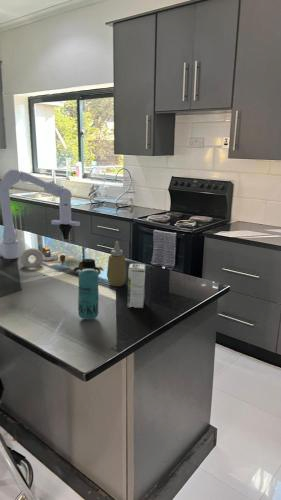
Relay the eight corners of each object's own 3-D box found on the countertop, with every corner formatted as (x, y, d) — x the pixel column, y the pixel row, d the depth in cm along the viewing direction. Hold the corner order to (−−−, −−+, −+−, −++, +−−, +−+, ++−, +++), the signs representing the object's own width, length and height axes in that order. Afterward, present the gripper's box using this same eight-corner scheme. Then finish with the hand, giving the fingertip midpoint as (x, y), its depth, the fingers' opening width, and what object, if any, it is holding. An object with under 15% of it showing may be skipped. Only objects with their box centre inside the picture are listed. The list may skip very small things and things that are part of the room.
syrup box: (128, 301, 136) (128, 263, 133) (144, 302, 136) (145, 263, 133) (127, 307, 131) (127, 267, 127) (143, 308, 131) (145, 268, 127)
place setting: (72, 279, 160) (72, 266, 159) (57, 267, 177) (57, 255, 176) (109, 274, 169) (109, 261, 167) (92, 263, 185) (92, 251, 184)
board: (28, 259, 186) (28, 249, 185) (58, 254, 198) (57, 244, 197) (49, 268, 172) (49, 257, 171) (80, 262, 184) (80, 251, 183)
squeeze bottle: (129, 283, 156) (130, 241, 152) (120, 289, 149) (121, 245, 145) (112, 280, 159) (113, 238, 155) (103, 285, 152) (103, 242, 148)
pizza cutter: (58, 260, 180) (58, 253, 179) (37, 261, 177) (36, 254, 177) (57, 252, 194) (57, 246, 193) (37, 253, 192) (37, 246, 191)
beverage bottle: (79, 315, 123) (78, 256, 119) (99, 315, 124) (99, 256, 119) (77, 324, 117) (76, 262, 112) (98, 323, 118) (98, 262, 113)
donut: (43, 267, 174) (42, 246, 172) (44, 269, 171) (43, 248, 169) (20, 269, 171) (19, 248, 168) (21, 271, 168) (20, 249, 165)
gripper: (48, 212, 185) (49, 239, 189) (75, 214, 183) (76, 241, 186) (54, 210, 192) (55, 236, 195) (81, 212, 189) (81, 238, 193)
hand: (65, 239), depth 191 cm, fingers closed
